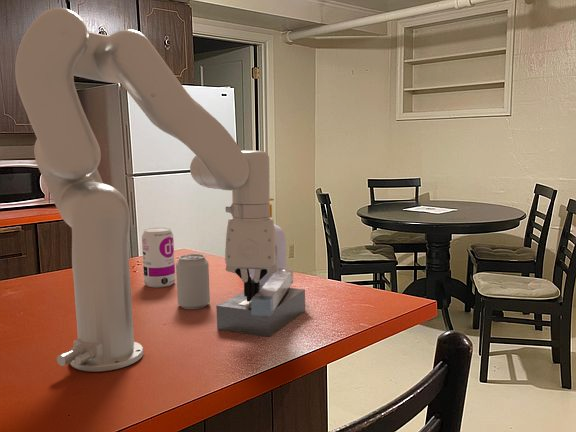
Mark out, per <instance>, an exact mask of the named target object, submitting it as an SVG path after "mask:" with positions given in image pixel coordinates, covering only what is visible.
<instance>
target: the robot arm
mask: <svg viewBox="0 0 576 432" xmlns="http://www.w3.org/2000/svg"><path fill="white" fill-rule="evenodd" d="M14 67H15V68H14V69H15V71H14V73H15V82H16V88H17V91H18V94H19V97H20V101H21V102H22V106H23V108H24V111H25V113H26V115H27V118H28V120H29V123H30V125H31V128H32V129H33V131H34V134H35V138H36V140H35V143H34V147H33V148H34V149H33V150H34V152H33V153H34V159H35V162H36V165H37V168H38V170H39V172H40V174H41V176H42V178H43V181H44V183H45V186H46V187H47V189H48V192H49V195H50V197H51V198H52V201H53V203H54V205H55V206H56V209H57V211H58V214H59V215H60V217H61V219H62V220H63V222H65V224H67V226H69V227H70V228H71V235H72V236H71V267H72V277H73V278H72V279H73V289H74V290H73V291H74V305H75V316H76V319H75V320H76V329H77V330H76V332H77V339H75V340H73V342H72V343H73V346H72V347H71V348H70V350H69V351H65V352H63V353H61V354H59V355H57V357H56V362H57V364H58V365H59V366H61V367H64V366H66V365H68V364H70V366H71V367H72V368H74V369H76V370H78V371H81V372H82V371H83V372H93V373H94V372H99V373H100V372H108V371H114V370H119V369H122V368H125V367H129V366H131V365H133V364H134V363H136V362H138V361H139V360H141V358H142V357H143V355H144V347H143V345H142V344H141V343H139V342H137V341H135V339H134V338H135V337H134V336H135V335H134V322H133V304H132V301H133V299H132V288H131V287H132V286H131V285H132V284H131V271H130V270H131V268H130V253H129V252H130V251H129V250H130V232H131V231H130V229H131V212H130V207H129V204H128V202H127V199H126V198H125V196H124V195H123V193H121V192H120V191H119V190H118V189H117V188H116V187H113V186H112V185H110V184H107V183H104V182H103V180H102V177H101V174H100V172H99V170H98V167H99V165H100V162H101V159H102V158H101V157H102V154H101V152H102V151H101V148H100V144H99V143H98V140H97V138H96V135H95V134H94V131H93V129H92V126H91V125H90V122H89V120H88V118H87V116H86V113H85V111H84V108H83V106H82V103H81V100H80V98H79V95H78V92H77V89H76V85H75V79H74V78H75V77H77V78H78V77H79V78H82V79H83V78H84V79H88V80H93V81H99V82H103V83H112V84H121V86H122V87H123V88H124V89H125V91H127V93H128V95H129V96H130V97H131V98H132V100H133V101H134V103H136V104H137V106H138V107H139V108H140V110H142V112H143V113H144V115H145V116H146V117H147V118H148V120H149V121H150V122H151V123H152V125H154V126H155V127H157V128H158V129H159V130H161V131H162V132H163V133H166V134H167V135H169V136H171V137H173V138H175V139H177V140H178V141H180V142H181V143H182V144H184V145H185V146H186V147H187V148H188V149H189V150H190V151H191V152H192V153H193V154H194V155H195V156H194V157H193V158H192V160H191V162H190V165H189V171H190V175H191V177H192V180H194V181H195V182H196V184H198V185H199V186H201V187H203V188H204V187H205V188H208V189H212V190H213V189H214V190H223V191H231V193H232V198H231V199H232V203H231V205H225V213H229V214H231V217H230V218H229V219H228V221H227V227H226V233H225V234H226V235H225V236H226V237H225V250H224V251H225V252H224V253H225V254H224V256H225V257H224V261H225V271H226V272H228V273H233V274H236V275H237V276H238V277H239V278H240V279H241V280H242V282H243V292H244V296H247V301H249V302H250V301H251V299H252V297H253V296H255V295H256V294H257V293H258V291H259V290H260V280H261V279H262V278H263V277H264V276H265V275H266V274H271V273H275V272H277V270H278V267H277V263H276V260H277V248H276V235H275V228H274V224H275V223H274V219H273V217H272V218H270V204H271V202H270V198H271V196H270V195H271V194H270V192H271V191H270V185H271V184H270V156H269V154H268V153H267V152H266V151H263V150H242V149H241V148H240V146H239V145H238V143H237V142H236V140H235V139H234V137H233V136H232V135H231V134H230V133H229V131H228V130H227V129H226V128H225V127H224V126H223V124H221V123H220V121H218V119H217V118H215V117H214V116H213V115H212V114H211V113H210V112H209V111H208V110H206V109H205V108H204V107H203V106H202V104H200V103H199V102H198V101H196V100H195V99H194V98H193V97H192V96H191V95H190V94H189V93H188V92H187V90H186V89H185V88H184V86H183V84H182V83H181V82H180V80H178V77H177V76H176V75H175V73H173V71H172V69H171V68H170V67H169V66H168V64H167V63H166V62H165V60H164V59H163V57H162V56H161V55H160V53H159V52H158V50H157V48H155V46H154V45H153V44H152V42H151V41H150V40H149V39H148V37H146V36H145V35H144V34H143V33H142V32H140V31H138V30H135V29H123V30H119V31H117V32H114V33H112V34H111V35H108V34H107V35H106V34H102V33H97V32H92V31H89V30H88V28H87V25H86V24H85V22H84V20H83V19H82V18H81V16H80V15H79V14H77V13H76V12H75V11H73V10H71V9H68V8H65V7H54V8H50V9H47V10H45V11H43V12H42V13H41V14H40V15H38V16H37V17H36V19H35V20H34V21H33V22H32V23H31V25H30V26H29V27H28V29H27V30H26V31H25V33H24V34H23V36H22V39H21V41H20V43H19V46H18V49H17V54H16V58H15V66H14ZM249 269H255V272H254V278H253V279H251V275H250V272H249Z"/></svg>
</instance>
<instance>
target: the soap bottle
mask: <svg viewBox="0 0 576 432" xmlns="http://www.w3.org/2000/svg"><path fill="white" fill-rule="evenodd" d="M270 201H274V198H271V197H270ZM270 218H273V205H272V203H270ZM274 228H275V235H276V248H277V260H276V263H277V267H278V269H280V268H287V243H286V242H287V239H286V235H285V233H284V231H283V229H282V227H280V226H279V225H277V224H275V223H274ZM249 272H250V277H251V279H253V278H254V272H255V269H249ZM273 274H274V273H271V274H266V275H265V276H264V277H263V278H262V279H261V280H260V285H264V284H265V283H266V282H267V281H268V280H269V278H270V277H271V276H272V275H273Z"/></svg>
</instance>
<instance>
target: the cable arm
mask: <svg viewBox="0 0 576 432" xmlns="http://www.w3.org/2000/svg"><path fill="white" fill-rule="evenodd" d="M293 283H294V269H293V268H289V267H286V268H280V269H278V270H277V272H275V273H274V274H273V275H272V276H271V277H270V278H269V280H268V281H267V282H266V283H265V284H264V286H263V287H262V288H261V289H260V290H259V291H258V293H257V294H256V295H255V296H253V297H252V299H251V315H256V316H271V315H272V314H273V311H274V309H275V308H276V306H277V305H278V303H279V302H280V300H281V299H282V297H283V296H284V295H285V293H286V292H287V290H288V289H289V287H290V288H291V285H292V284H293Z"/></svg>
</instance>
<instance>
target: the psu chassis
mask: <svg viewBox="0 0 576 432" xmlns="http://www.w3.org/2000/svg"><path fill="white" fill-rule="evenodd" d="M263 286H264V285H260V289H261V288H262V287H263ZM215 308H216V329H217V330H221V331H226V332H234V333H241V334H246V335H247V334H248V335H254V336H260V337H265V338H266V337H268V338H270V337H271V336H272V335H274V334H276V332H278V331H279V330H281V329H282V328H283V327H286V325H288V324H289V323H291V322H292V321H293V320H294V319H296V318H297V317H300V315H302V314H304V312H306V289H305V288H304V289H302V288H295V287H294V288H293V287H291V286H290V287H289V289H288V290H287V292H286V293H285V295H284V296H283V297H282V299H281V300H280V302H279V303H278V305H277V306H276V308H275V309H274V311H273V314H272V315H271V316H256V315H251V301H250V302H249V301H247V296H244V291H243V292H241V293H240V292H239V294H236V295H235V296H233V297H231V298H228V299H227V300H225V301H223V302H221V303H219V304H217V305H216V307H215Z"/></svg>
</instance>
